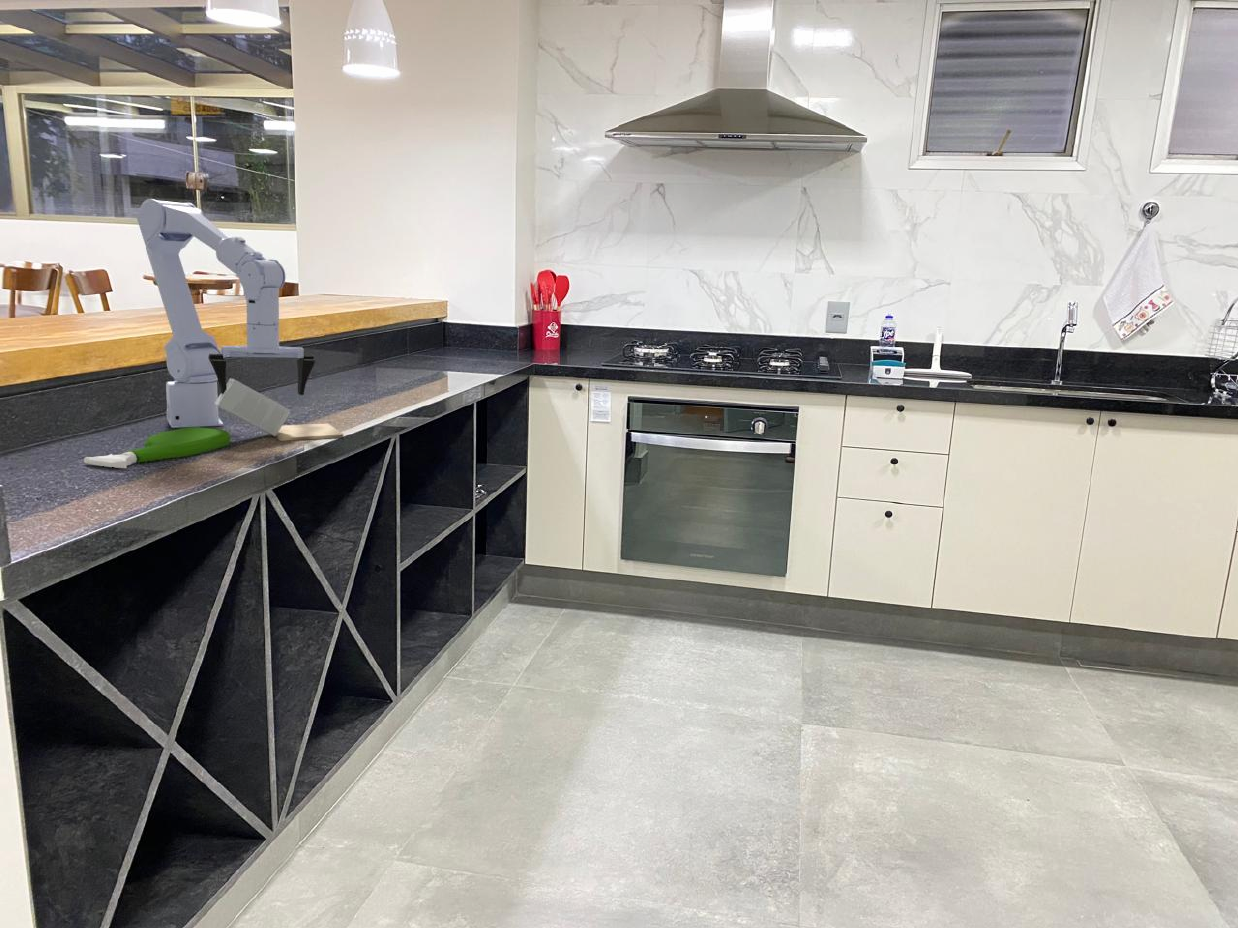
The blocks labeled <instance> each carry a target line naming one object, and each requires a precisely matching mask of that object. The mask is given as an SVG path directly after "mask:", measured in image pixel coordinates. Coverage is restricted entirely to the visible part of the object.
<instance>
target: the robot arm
mask: <svg viewBox="0 0 1238 928" xmlns="http://www.w3.org/2000/svg"><path fill="white" fill-rule="evenodd" d="M136 220H137V223H138V227H139V229H140V233H141V237H142V239H143V242H144V245H145V250H146V255H147V257H148V260H149V263H150V266H151V270H152V272H153V276H154V279H155V282H156V285H157V288H158V291H159V295H160V298H161V301H162V304H163V307H164V310H165V313H166V317H167V320H168V323H169V326H170V328H171V332H172V335H173V336H172V337H171V338H170V339H169V340H168V342H167V343H166V344H165V345H164V350H165V354H166V367H167V371H168V373H169V374H170V376H171V377H172V378H173V380H174V381H171V380H170V381H166V383H165V390H166V391H165V392H166V394H165V395H166V419H167V422H168V424H169V426H170V427H171V428H173V429H175V428H176V429H177V428H178V429H181V428H188V427H201V428H203V427H218V426H221V427H222V426H224V423H223V421H222V420H221V419H220V417H219V407H218V406H216V405H215V402H216V400H217V399H218V397H219V396H218V385H219V389H220V394H221V393H222V394H223V393H224V392H225V391H226V389H227V387H226V384H227V377H226V376H227V361H226V358H289V359H290V358H295V359H296V362H297V363H296V364H297V394H298V395H299V396H304V395H305V389H306V384H307V382H308V379H309V377H310V373H312V370H313V368H314V366H315V364H316V359H315V357H314V355H307V354H306V355H304V354H305V353H304V350H305V349H304V348H303V347H301V346H299V347H298V346H297V347H296V346H295V347H294V346H280V322H279V321H280V308H279V307H280V302H279V301H280V295H279V294H280V291H279V290H281V289H282V288H283V287H284V285H285V282H286V272H285V268H284V267H283V265H282V264H281V263H279V261H278V260H276V259H266V258H265V257H264V256H263V253H262V252H260V251H256V250H255V249H253V248H252V247H251V246H249V245H248V244H247V243H246V242H247V241H246V239H244V238H243V237H241V236H239V237H238V236H237V237H236V236H229V237H228V236H226V235H225V233H224V232H223V231H221V230H220V229H219V228H218V227H217V226H215V225H214V223H212V222H211V221H210V220H209V219H208V218H206V217H205V216H204V212H203V210H202V209H200V208H198V207H197V206H196V205H194V204H193V203H192V202H175V201H165V200H156V199H153V198H148V199H145V200H144V201H143V202H142V204H141V205H140V208H139V210H138V213H137V216H136ZM193 238H196V239H197V240H199V241H200V242H201V243H203V244H205V245H206V246H208V247H209V248H210V249H212V250H214V251H215V257H216V259H217V261H218V262H219V263H221V264H222V265H224V266H225V267H226V268H228V270H230V271H231V272H233V273H234V274H235V275H237V276H238V281H239V283H240V286H242V289H243V296H244V298H245V299H246V301H245V302H246V345H221V349H220V348H219V346H218V343H217V341H216V338H214V337H213V336H212V335H211V334H209V333H208V332H206V331H204V330H203V327H202V324H201V321H200V319H199V315H198V312H197V308H196V306H195V303H194V299H193V297H192V292H191V290H190V287H189V282H188V281H187V277H186V274H185V271H184V268H183V264H182V261H181V258H180V256H179V254H180V252H181V251H182V250H183V249H184V248H186V247H187V245H188V244H189V243H190V242H191V240H192V239H193ZM256 353H257V354H256Z"/></svg>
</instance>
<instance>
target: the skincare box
mask: <svg viewBox="0 0 1238 928" xmlns="http://www.w3.org/2000/svg"><path fill="white" fill-rule="evenodd" d="M226 387H227V389H226V391H225V392H224V393H223V394H222V393H221V392H220V394H219V396H218V399H217V400H216V402H215V405H216V406H218V409H221V410H223V411H225V412H228V414H231V415H233V416H235V417H237V418H239V419H241V420H242V421H244V422H247V423H249V424H250V425H252V426H254V427H256V428H258V429H260V430H262V431H263V432H265V433H267V434H269V435H271V436H273V437H275V436H276V435H277V433H278V431H279V430H280V428H281V426H284V423H285V422H286V420H287V418H288V416H289V415H290V413H291V409H289V408H287V407H285V406H283V405H282V404H280V403H278V402H276V401H274V400H273V399H272V398H271V399H270V398H269V397H267V396H266V395H264V394H262V393H260V392H258V391H257V390H256V389H255V390H254V389H253V388H251V387H249V386H248V385H246V384H244V383H242V382H240V381H238V380H237V379H234V378H231V377H230V378H229V379H228V381H227V382H226Z"/></svg>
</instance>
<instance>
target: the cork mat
mask: <svg viewBox="0 0 1238 928" xmlns="http://www.w3.org/2000/svg"><path fill="white" fill-rule="evenodd" d="M274 437H275V438H277V440H278V441H280V442H286V441H287V442H288V441H301V440H318V439H319V440H320V439H321V440H322V439H339V438H341V439H342V438H344V434H343V433H342V432H341V431H339V429H336V428H335V427H334V426H332V425H331V424H330V423H313V424H312V423H311V424H291V425H290V424H288V425H286V424H285V425H282V426H281V428H280V430H279V431H278V433H277V435H276V436H274Z"/></svg>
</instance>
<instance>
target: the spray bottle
mask: <svg viewBox="0 0 1238 928" xmlns="http://www.w3.org/2000/svg"><path fill="white" fill-rule="evenodd" d="M230 443H231V435H230V433H229V432H228V431H227V430H223V429H217V428H207V427H181V428H178V429H177V428H176V429H173V430H169V431H164V432H160V433H156V434H153V435H150V436H149V437H147V438H146V439H145V441H144V447H139V448H137V449H129V450H126V452H122V453H121V454H113V453H110V454H109V455H102V456H101V455H100V456H99V455H98V456H93V457H91V456H89V457H84V459H83V462H84V463H85V464H87V465H88V464H89V465H93V466H96V467H103V466H104V467H105V468H112V467H114V469H127V466H131V465H132V464H133V463H134V464H140V463H141V462H142V463H148V461H150V462H156V461H155V460H158V461H164V460H163V459H165V460H171V459H170V458H172V459H178V457H180V458H184V456H185V457H190V456H194V455H198V454H203V453H207V452H211V451H214V450H218V449H221V448H224V447H227V446H229V445H230Z"/></svg>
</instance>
